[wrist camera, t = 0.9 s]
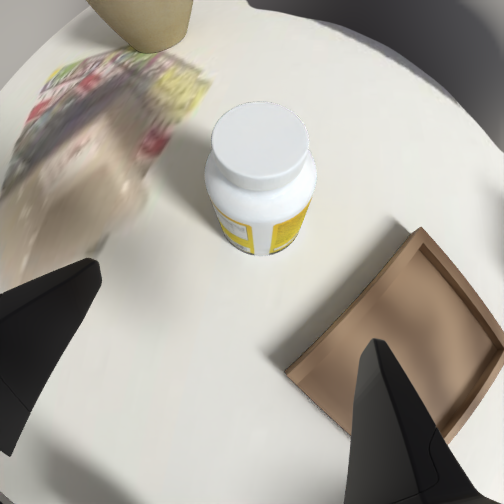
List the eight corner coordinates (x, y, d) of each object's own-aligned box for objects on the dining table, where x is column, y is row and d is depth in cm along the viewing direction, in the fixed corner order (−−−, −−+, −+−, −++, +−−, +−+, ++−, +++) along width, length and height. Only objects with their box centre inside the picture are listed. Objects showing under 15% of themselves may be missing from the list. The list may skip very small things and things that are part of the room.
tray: (400, 476, 19) (409, 485, 17) (284, 371, 22) (286, 375, 20) (500, 347, 21) (513, 347, 19) (410, 233, 24) (421, 226, 22)
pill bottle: (309, 198, 25) (340, 108, 14) (286, 269, 24) (310, 216, 12) (237, 175, 26) (223, 78, 14) (209, 243, 24) (170, 173, 13)
